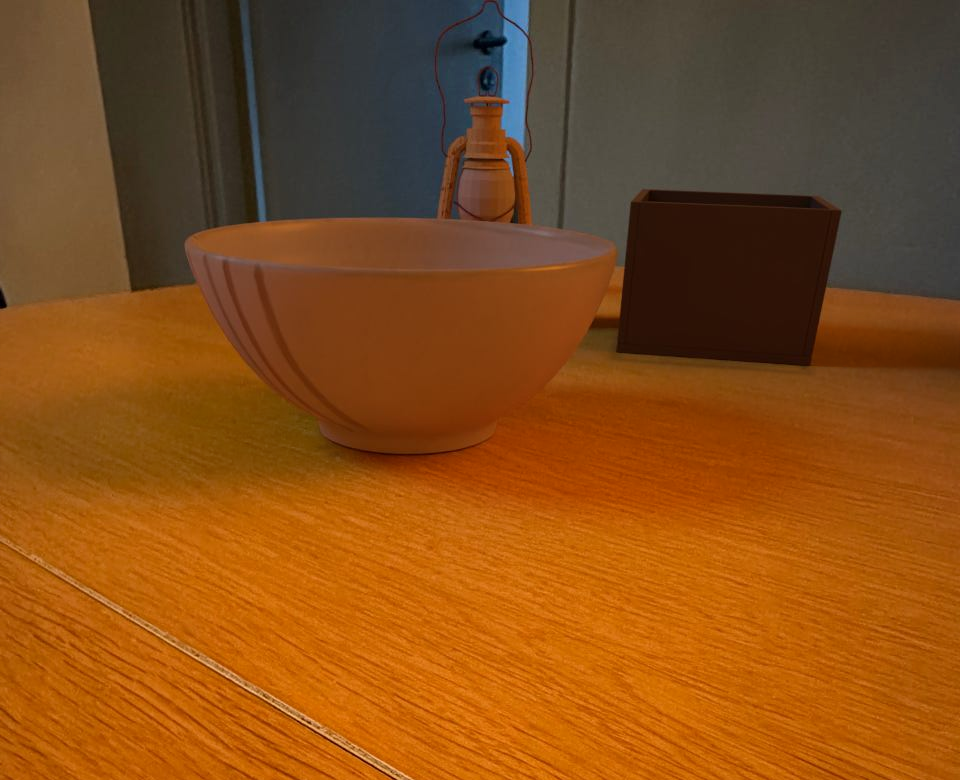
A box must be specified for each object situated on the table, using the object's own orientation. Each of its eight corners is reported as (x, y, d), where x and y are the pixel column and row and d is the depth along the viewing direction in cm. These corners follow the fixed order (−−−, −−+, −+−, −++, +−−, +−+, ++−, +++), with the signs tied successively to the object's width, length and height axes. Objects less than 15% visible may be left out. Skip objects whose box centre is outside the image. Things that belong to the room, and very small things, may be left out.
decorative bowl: (137, 478, 53) (97, 257, 47) (286, 370, 76) (272, 211, 69) (594, 512, 50) (616, 281, 44) (604, 388, 73) (620, 225, 67)
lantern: (437, 296, 108) (436, -9, 93) (433, 283, 117) (432, 2, 102) (535, 297, 109) (550, -4, 94) (524, 284, 118) (536, 6, 103)
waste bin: (793, 328, 96) (818, 195, 90) (810, 365, 81) (842, 210, 75) (629, 317, 99) (642, 189, 93) (616, 352, 84) (630, 201, 78)
